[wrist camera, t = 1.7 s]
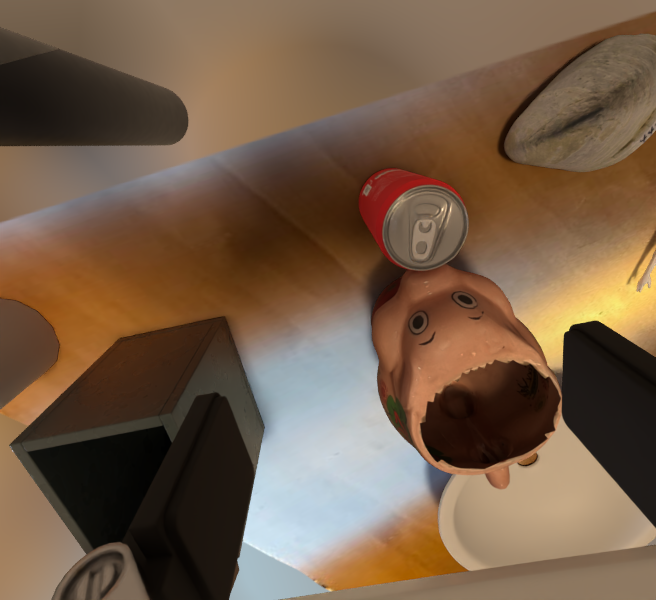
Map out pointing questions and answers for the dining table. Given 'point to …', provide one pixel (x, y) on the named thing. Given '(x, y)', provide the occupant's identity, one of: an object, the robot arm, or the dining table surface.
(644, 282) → the woman figurine
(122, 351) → the bin
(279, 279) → the dining table surface
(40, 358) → the cup
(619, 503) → the soup bowl
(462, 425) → the decorative planter
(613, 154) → the seashell
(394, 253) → the beverage can
